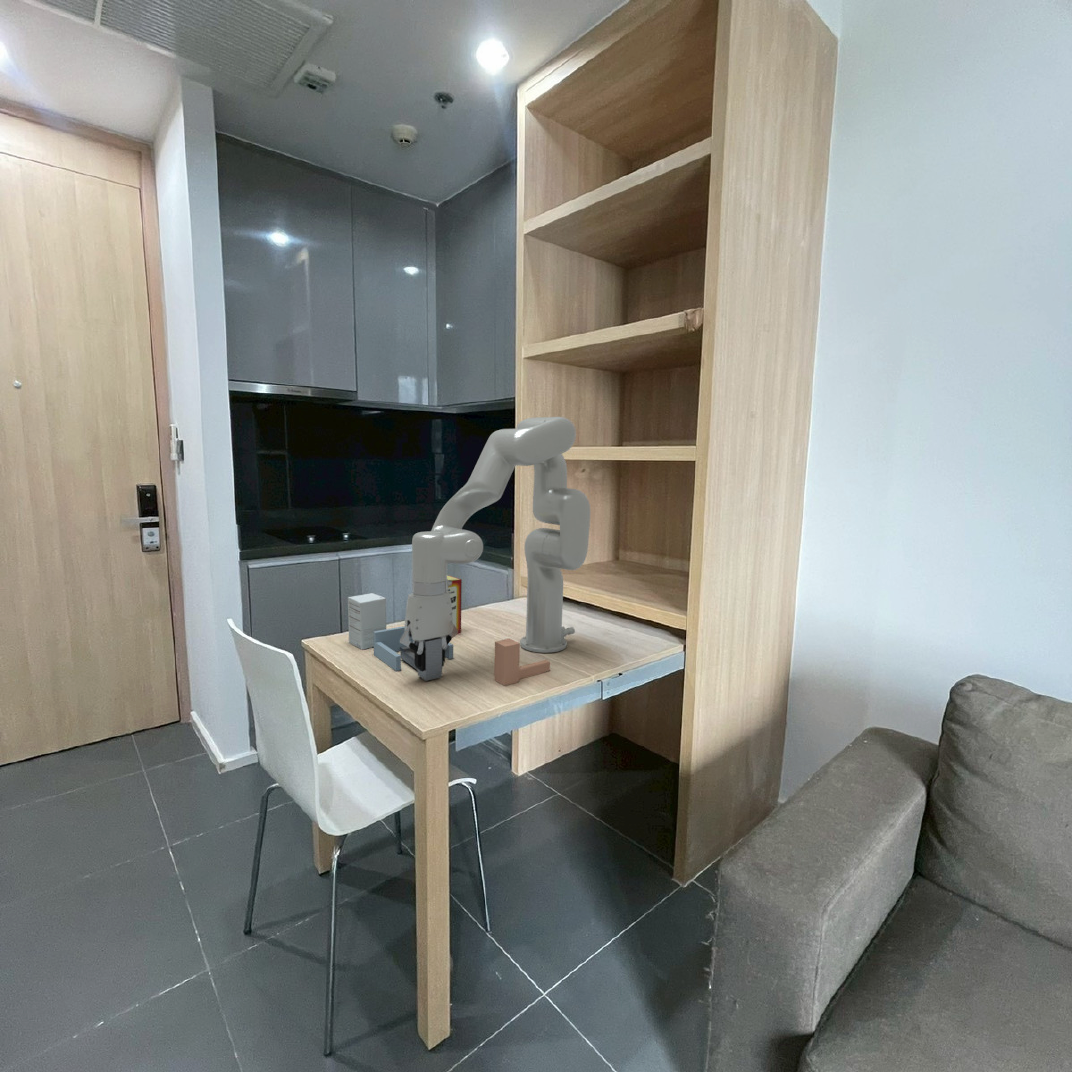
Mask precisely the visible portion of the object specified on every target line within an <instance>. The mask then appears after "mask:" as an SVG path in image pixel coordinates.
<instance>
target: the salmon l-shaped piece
mask: <svg viewBox="0 0 1072 1072" xmlns="http://www.w3.org/2000/svg"><path fill="white" fill-rule="evenodd" d="M520 648H521V645H520V642H518V641H516V640H514V639H511V638H506V639H501V640H496V641H494V667H493V668H494V669H493V670H494V673H493V674H494V675H493V679H494V680H493V681H495V682H497V683H499V684H500V685H501V686H503V687H507V686H509V685H512V684H513V685H514V684H516V683H519V681H520V680H522V679H525V678H528V677H532V676H535V675H539V674H543V673H547V672H550V671H549V670H551V661H549V660H547V659H545V660H539V661H536V662H532V663H529V664H525V665H521V666H520V657H521V655H520V654H521V649H520ZM546 671H547V672H546Z"/></svg>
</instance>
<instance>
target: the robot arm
mask: <svg viewBox="0 0 1072 1072" xmlns="http://www.w3.org/2000/svg"><path fill="white" fill-rule="evenodd" d="M576 431H577V430H576V427H575V425H574V424H573V422H572V421H571V420H570V419H568V418H567V417H563V416H547V417H546V416H545V417H544V416H543V417H530V418H525V419H523V420H521V421H520V422H519V423H518V424H517V426H516V428H502V429H499V430H495V431H494V432H492V433H491V434H490V435H489V437H488V439H487V441H486V443H485V445H484V447H483V449H482V451H481V453H480V455H479V458H478V459H477V462H476V464H475V466H474V469H473V470H472V472H471V475H470V477H469V478H468V480H467V482H466V483H465V484H464V485H463V487H461V488H460V489H459V490H458V491H457V492H455V494H454V495H453V496H452V497H451V498H450V499H449V500H448V501H447V502H446V503H445V505H444V506H443V507H442V509H441V510H440V511H439V513H438V515H437V517H436V519H435V522H434V523H433V525H432V528H431V530H430V531H420V532H417V533H415V534H414V535H412V539H411V540H412V542H411V546H412V547H411V552H412V553H411V555H412V557H411V561H412V562H411V570H412V572H411V573H412V574H411V575H412V581H411V583H412V586H411V587H412V591H411V592H412V593H409V594H408V597H407V601H406V607H405V614H404V626H405V632H404V634H403V635H402V637H401V639H400V643H402V644H403V645H405V646H407V647H409V648H411V649H412V650H413V651H414V652H415V666H416V668H417V669H419V670H420V671H424V670H425V655H424V654H423V647H424V641H425V640H429V639H434V638H439V637H440V638H442V668H443V667H444V665H445V664H444V663H445V662H444V661H446V657H445V649H446V648H447V645H448V643H451V641H452V639H453V638H454V637H456V636H457V635H459V634H458V630H457V628H456V627H455V625H454V624H453V612H452V604H451V599H450V594H449V592H447V590H448V587H449V586H451V585H452V581H451V580H448V579H447V576H448V564H457V565H458V564H461V565H466V564H472V563H474V562H476V561H477V560H479V558H480V557H481V555H482V554H483V551H484V543H483V540H482V538H481V537H480V536H479V534H477V533H476V532H474V531H471V530H467V529H463V527H464V525H465V524H466V522H467V521H468V520H469V519H470V518H471V516H473V515H474V514H475V513H476V512H478V511H480V510H482V509H483V508H485V507H489V506H490V505H492V504H494V503H496V502H498V501H499V500H500V499H501V498H502V496H503V495H504V492H505V489H506V487H507V485H508V482H509V480H510V478H511V476H512V473H513V472H514V470H515V468H516V466H520V467H522V466H523V467H528V466H529V467H530V466H533V471H534V474H533V475H534V476H533V493H532V494H533V495H532V513H533V516H534V518H535V519H536V520H537V521H539V522H541V523H544V524H550V525H557V526H559V529H553V528H547V527H540V528H539V527H538V528H535V529H534V530H532V531H530V532H529V534H528V535H527V536H526V538H525V541H524V557H525V561H526V569H527V589H526V591H527V592H526V620H525V621H526V622H525V623H526V624H525V626H526V627H525V636H523V637H522V638H520V641H519V643H520V648H523V649H524V650H527V651H530V652H533V653H539V654H541V653H542V654H543V653H544V654H548V653H558V652H560V651H561V652H562V651H563V650H565V649H567V646H568V641H567V640H566V639H565V637H567V635H568V636H570V635H573V634H575V633H576V630H575V628H574V627H573V626H571V627H566V628H565V626H563V604H564V603H563V601H564V600H563V599H564V577H563V572H562V570H566V571H575V570H578V569H579V568H581V567H583V565H584V563H585V561H586V558H587V554H588V551H589V550H588V548H589V539H590V538H589V537H590V536H589V535H590V523H591V522H590V521H591V505H590V502H589V499H588V496H587V495H586V494H585V493H584V492H583V491H581V490H579V489H576V488H568V467H567V462H566V459H565V457H564V455H563V454H564V453H566V452H567V451H569V450H570V449H571V448H572V447H573V445H574V443H575V442H576V438H577V432H576ZM561 569H562V570H561ZM410 637H412V639H413V640H414V641H413V642H411V641H409V638H410Z"/></svg>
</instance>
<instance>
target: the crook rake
mask: <svg viewBox="0 0 1072 1072" xmlns="http://www.w3.org/2000/svg"><path fill="white" fill-rule="evenodd" d="M399 652H400V654H399V655H400V656H401V661H404V662H405V663H407V664H408V665H409V666H411V667H412V668H414V669H416V671H417V676H418V677H419V678H421V679H422V680H424V681H430V680H435V679H440V678H442V677H443V667H442V638H440V637H439V638H434V639H429V640H425V641H424V647H423V654H424V655H425V670H424V671H420V670H419V669H417V668H416V666H415V652H414V651H413V650H412V649H411V648H409V647H407V646H404V647H400V651H399Z"/></svg>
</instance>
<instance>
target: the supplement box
mask: <svg viewBox="0 0 1072 1072" xmlns="http://www.w3.org/2000/svg"><path fill="white" fill-rule="evenodd" d="M347 611H348V612H347V613H348V615H347V616H348V617H347V618H348V621H347V622H348V642H349V644H350V645H352V646H354V647H356V648H358V649H359V650H362V651H363V650H366V649H370V648H374V631H379V630H385V629H387V598H386V597H383V596H381V595H379V594H375V593H373V592H370V593H364V594H360V595H353V596H348V597H347Z"/></svg>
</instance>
